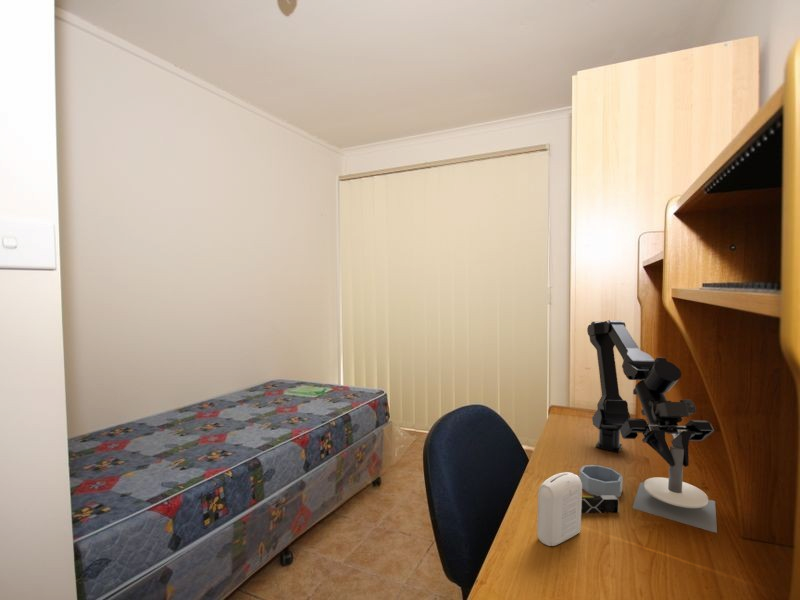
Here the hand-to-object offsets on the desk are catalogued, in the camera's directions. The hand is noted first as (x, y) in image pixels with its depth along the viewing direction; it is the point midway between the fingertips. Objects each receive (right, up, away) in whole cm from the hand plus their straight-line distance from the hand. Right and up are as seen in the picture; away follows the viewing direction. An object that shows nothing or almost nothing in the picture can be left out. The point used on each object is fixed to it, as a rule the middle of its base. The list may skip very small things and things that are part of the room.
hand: (680, 466), depth 91 cm
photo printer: (-31, -10, -9) cm, 34 cm away
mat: (0, -10, +2) cm, 10 cm away
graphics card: (-21, -10, -1) cm, 23 cm away
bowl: (-13, -9, +9) cm, 19 cm away
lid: (0, -7, +2) cm, 7 cm away
